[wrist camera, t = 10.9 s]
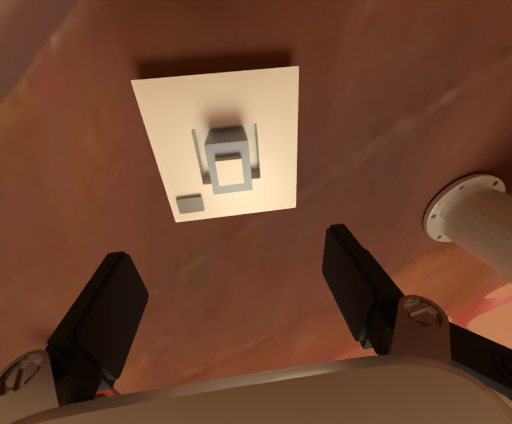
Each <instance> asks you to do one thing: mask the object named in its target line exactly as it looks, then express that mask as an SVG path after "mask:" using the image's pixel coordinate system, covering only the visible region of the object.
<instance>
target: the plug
mask: <svg viewBox="0 0 512 424" xmlns="http://www.w3.org/2000/svg"><path fill="white" fill-rule="evenodd" d="M204 148H205V153H206V158H207V163H208V168H209V173H210V178H211V183H212V189H213V194H214V195H215V194H223V193H232V192H240V191H249V190H253V188H252V177H251V166H250V155H249V144H248V138H247V136H246V133H245V130H244V127H243V126H242V127H232V128H222V129H212V130H209V132H208V135H207V138H206V141H205V144H204Z"/></svg>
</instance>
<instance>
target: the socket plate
mask: <svg viewBox="0 0 512 424" xmlns="http://www.w3.org/2000/svg"><path fill="white" fill-rule="evenodd" d="M131 83H132V86H133V90H134V93H135V96H136V99H137V102H138V105H139V108H140V111H141V115H142V118H143V121H144V124H145V127H146V130H147V133H148V136H149V140H150V143H151V146H152V149H153V152H154V155H155V158H156V161H157V165H158V168H159V171H160V174H161V177H162V180H163V183H164V187H165V190H166V193H167V196H168V199H169V202H170V205H171V208H172V212H173V215H174V218H175V221H176V222H183V221H191V220H199V219H207V218H215V217H223V216H231V215H239V214H247V213H255V212H263V211H271V210H279V209H287V208H295V207H296V174H297V129H298V84H299V66H293V67H281V68H270V69H258V70H246V71H235V72H223V73H212V74H200V75H188V76H177V77H165V78H154V79H142V80H131ZM242 126H243V127H244V130H245V133H246V136H247V138H248V144H249V155H250V166H251V177H252V188H253V190H249V191H240V192H232V193H223V194H215V195H214V194H213V189H212V183H211V178H210V173H209V168H208V163H207V158H206V153H205V148H204V144H205V141H206V138H207V135H208V132H209V130H212V129H222V128H232V127H242Z"/></svg>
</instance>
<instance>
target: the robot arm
mask: <svg viewBox="0 0 512 424" xmlns="http://www.w3.org/2000/svg"><path fill="white" fill-rule="evenodd" d="M423 227H424V231H425V232H426V234H427V235H429V236H430V237H431V238H432V239H434V240H436V241H440V242H450V241H453V242H454V243H456V244H457V245H459V246H460V247H461V248H463V249H464V250H465V251H467V252H468V253H470V254H471V255H472V256H474V257H475V258H477V259H478V260H479V261H481V262H482V263H484V264H485V265H486V266H488V267H489V268H491V269H492V270H493V271H495V272H496V273H498V274H499V275H500V276H502V277H503V278H505V279H506V280H507V281H509V282H510V283H511V284H512V196H511V195H509V194H506V193H505V185H504V183H503V182H502V181H501V179H499V178H497V177H495V176H492V175H489V174H474V175H470V176H467V177H464V178H462V179H460V180H457V181H456V182H454V183H452V184H451V185H449V186H448V187H446V188H445V189H444V190H443V191H441V192H440V193H439V194H438V195H437V196H436V197H435V199H434V200H433V201H432V202H431V204H430V205H429V207H428V208H427V211H426V213H425V215H424V220H423ZM322 272H323V275H324V278H325V280H326V282H327V284H328V286H329V288H330V290H331V292H332V294H333V296H334V298H335V300H336V302H337V304H338V306H339V308H340V310H341V313H342V315H343V317H344V319H345V321H346V323H347V325H348V327H349V329H350V331H351V333H352V335H353V337H354V339H355V340H356V341H357V342H359V341H360V343H361V345H362V347H363V349H368V348H373V349H374V351H375V353H376V354H378V356H367V357H359V358H352V359H345V360H337V361H330V362H323V363H317V364H310V365H304V366H297V367H291V368H284V369H278V370H271V371H265V372H258V373H252V374H246V375H240V376H233V377H227V378H221V379H215V380H208V381H202V382H196V383H190V384H184V385H178V386H172V387H165V388H159V389H153V390H147V391H141V392H135V393H129V394H123V395H117V396H112V397H106V398H101V399H95V400H94V397H95V395H96V393H97V391H104V390H110V389H112V388H113V385H114V383H115V380H116V379H118V378H119V377H120V375H121V373H122V370H123V367H124V365H125V362H126V359H127V356H128V354H129V351H130V348H131V345H132V343H133V340H134V337H135V334H136V332H137V329H138V326H139V323H140V321H141V318H142V315H143V312H144V310H145V307H146V304H147V301H148V291H147V289H146V287H145V285H144V283H143V281H142V279H141V277H140V275H139V273H138V271H137V269H136V267H135V265H134V263H133V261H132V259H131V257H130V255H129V254H126V253H125V252H114V253H109V254H108V255H107V256H106V257H105V259H104V260H103V262H102V263H101V264H100V266H99V267H98V269H97V270H96V272H95V273H94V275H93V276H92V277H91V279H90V280H89V282H88V283H87V285H86V286H85V288H84V289H83V290H82V292H81V293H80V295H79V296H78V298H77V299H76V301H75V302H74V304H73V305H72V306H71V308H70V309H69V311H68V312H67V314H66V315H65V317H64V318H63V319H62V321H61V322H60V324H59V325H58V327H57V328H56V330H55V331H54V332H53V334H52V335H51V337H50V338H49V340H48V341H47V343H48V346H47V347H46V349H45V350H42V349H39V350H33V351H30V352H27V353H25V354H23V355H21V356H19V357H18V358H16V359H15V360H13V361H12V362H11V363H9V364H8V365H7V366H6V367H5V368H4V369H3V370H2V371H1V372H0V424H512V349H510V348H507V347H505V346H503V345H501V344H498V343H496V342H494V341H491V340H489V339H487V338H485V337H482V336H480V335H478V334H476V333H473V332H471V331H469V330H466V329H464V328H462V327H460V326H457V325H455V324H453V323H451V322H449V320H448V317H447V315H446V314H445V312H444V311H443V310H442V309H441V308H440V307H439V306H438V305H437V304H435V303H434V302H432V301H431V300H429V299H427V298H424V297H421V296H417V295H407V296H405V295H404V294H403V293H402V292H401V290H400V289H399V288H398V287H397V286H396V284H395V283H394V282H393V281H392V279H391V278H390V277H389V276H388V275H387V273H386V272H385V271H384V270H383V268H382V267H381V266H380V265H379V264H378V262H377V261H376V260H375V259H374V257H373V256H372V255H371V254H370V253H369V251H368V250H366V249H364V248H363V247H362V246H361V245H360V243H359V242H358V241H357V240H356V238H355V237H354V236H353V235H352V233H351V232H350V231H349V230H348V228H347V227H346V226H345V225H344V224H335V225H331V226H330V228H328V229H327V230H326V238H325V247H324V256H323V265H322Z"/></svg>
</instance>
